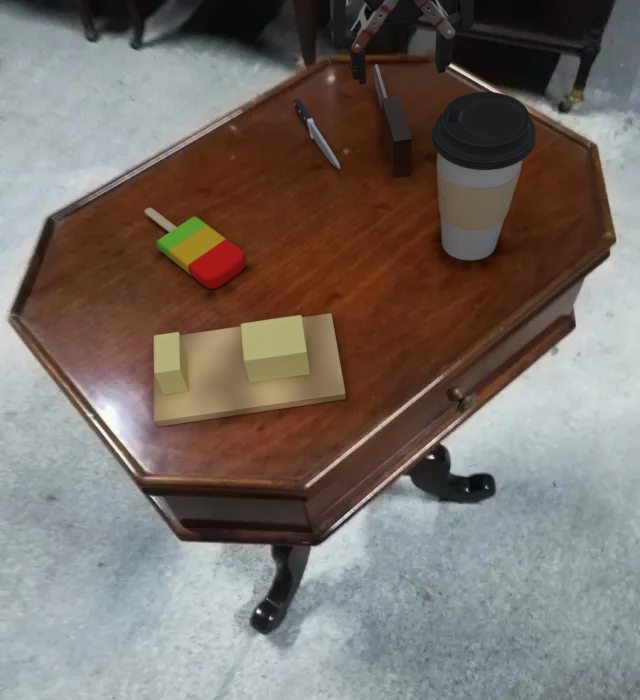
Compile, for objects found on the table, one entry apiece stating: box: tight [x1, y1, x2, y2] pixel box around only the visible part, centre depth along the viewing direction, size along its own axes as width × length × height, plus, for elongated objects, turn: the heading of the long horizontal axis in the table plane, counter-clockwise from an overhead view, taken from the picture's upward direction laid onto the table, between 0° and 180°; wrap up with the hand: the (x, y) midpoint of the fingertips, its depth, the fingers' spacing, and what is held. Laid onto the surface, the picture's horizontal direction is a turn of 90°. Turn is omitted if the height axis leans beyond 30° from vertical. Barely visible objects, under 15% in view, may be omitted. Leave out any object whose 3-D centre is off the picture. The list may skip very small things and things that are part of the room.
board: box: [153, 312, 347, 428], centre depth 72 cm, size 18×10×1 cm, turn 97°
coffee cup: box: [431, 91, 537, 261], centre depth 73 cm, size 9×9×15 cm
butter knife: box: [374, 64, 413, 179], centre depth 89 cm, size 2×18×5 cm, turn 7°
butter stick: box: [240, 314, 310, 383], centre depth 70 cm, size 6×4×4 cm
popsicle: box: [144, 207, 247, 290], centre depth 82 cm, size 6×15×2 cm, turn 44°
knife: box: [292, 98, 341, 170], centre depth 90 cm, size 15×1×2 cm, turn 22°
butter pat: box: [153, 331, 189, 395], centre depth 70 cm, size 2×4×4 cm, turn 7°
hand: (400, 74), depth 80 cm, fingers open, 8 cm apart
